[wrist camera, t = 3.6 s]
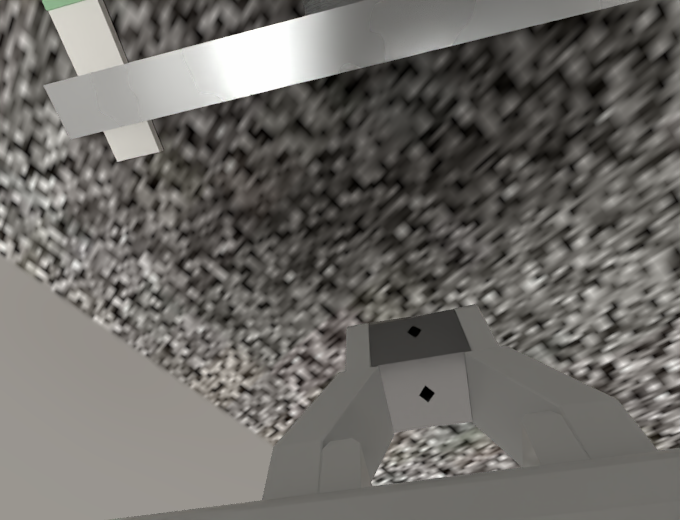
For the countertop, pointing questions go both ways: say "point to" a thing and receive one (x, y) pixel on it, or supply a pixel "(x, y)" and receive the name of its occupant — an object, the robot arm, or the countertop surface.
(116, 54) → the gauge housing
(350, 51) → the plate
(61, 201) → the countertop surface
